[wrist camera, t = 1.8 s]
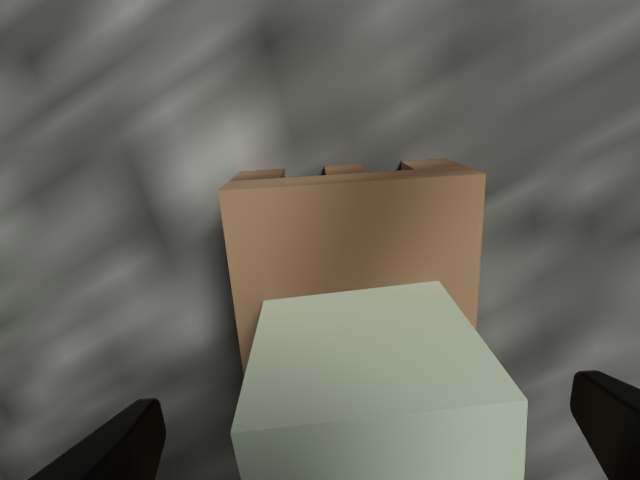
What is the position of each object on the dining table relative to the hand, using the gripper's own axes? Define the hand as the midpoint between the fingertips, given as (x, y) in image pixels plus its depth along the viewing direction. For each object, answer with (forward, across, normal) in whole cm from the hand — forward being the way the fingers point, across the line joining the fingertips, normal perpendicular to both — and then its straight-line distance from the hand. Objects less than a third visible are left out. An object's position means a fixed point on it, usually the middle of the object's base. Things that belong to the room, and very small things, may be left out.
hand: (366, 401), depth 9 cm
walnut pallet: (+4, 0, 0) cm, 4 cm away
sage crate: (+1, 0, 0) cm, 1 cm away
